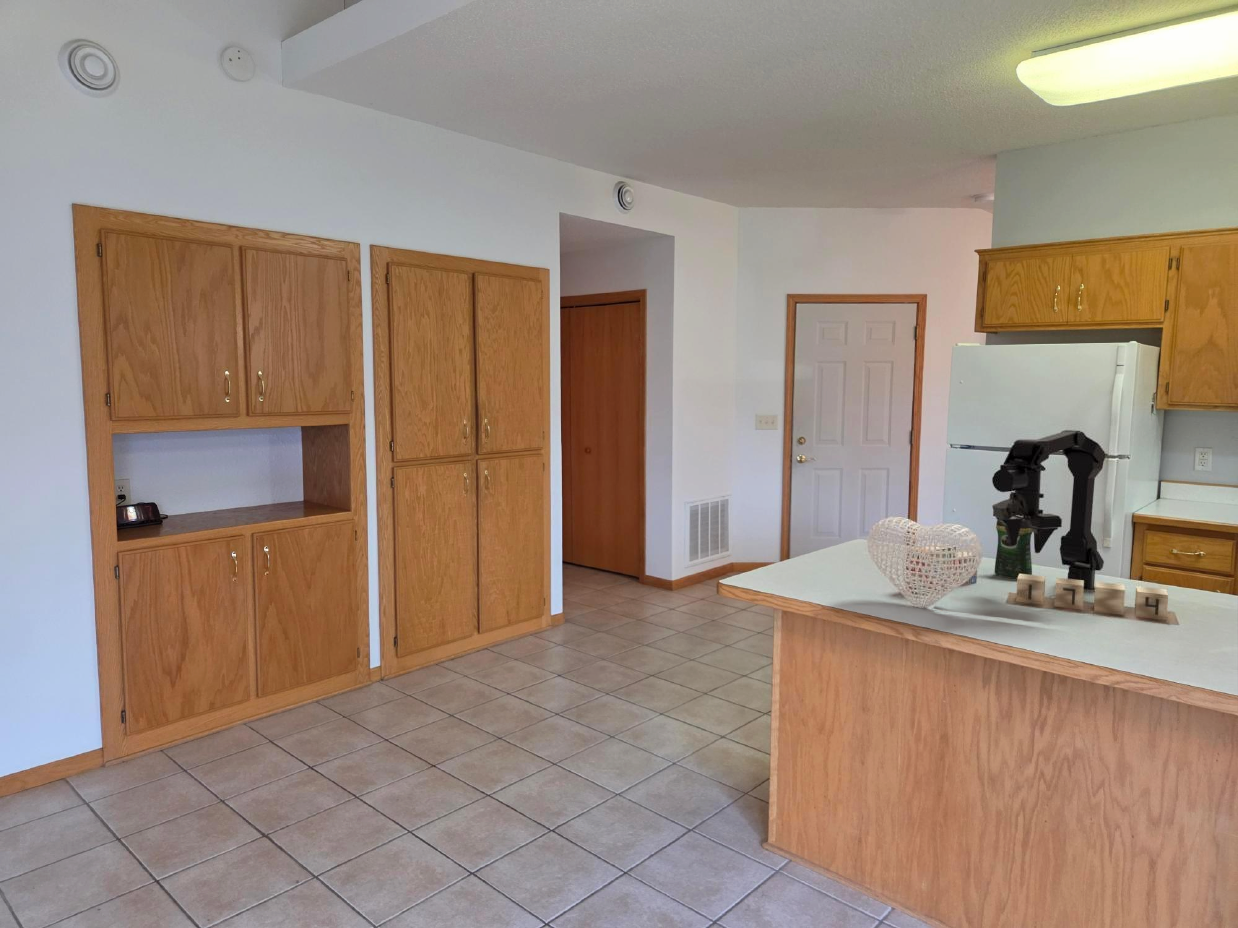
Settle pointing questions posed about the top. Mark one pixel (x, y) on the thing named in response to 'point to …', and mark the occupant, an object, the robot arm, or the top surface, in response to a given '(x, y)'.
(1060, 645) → the top surface
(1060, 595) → the block seven
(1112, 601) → the plain block
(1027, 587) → the block one
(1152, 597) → the block four
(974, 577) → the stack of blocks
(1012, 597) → the walnut mat
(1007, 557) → the coffee jar
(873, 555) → the heart
